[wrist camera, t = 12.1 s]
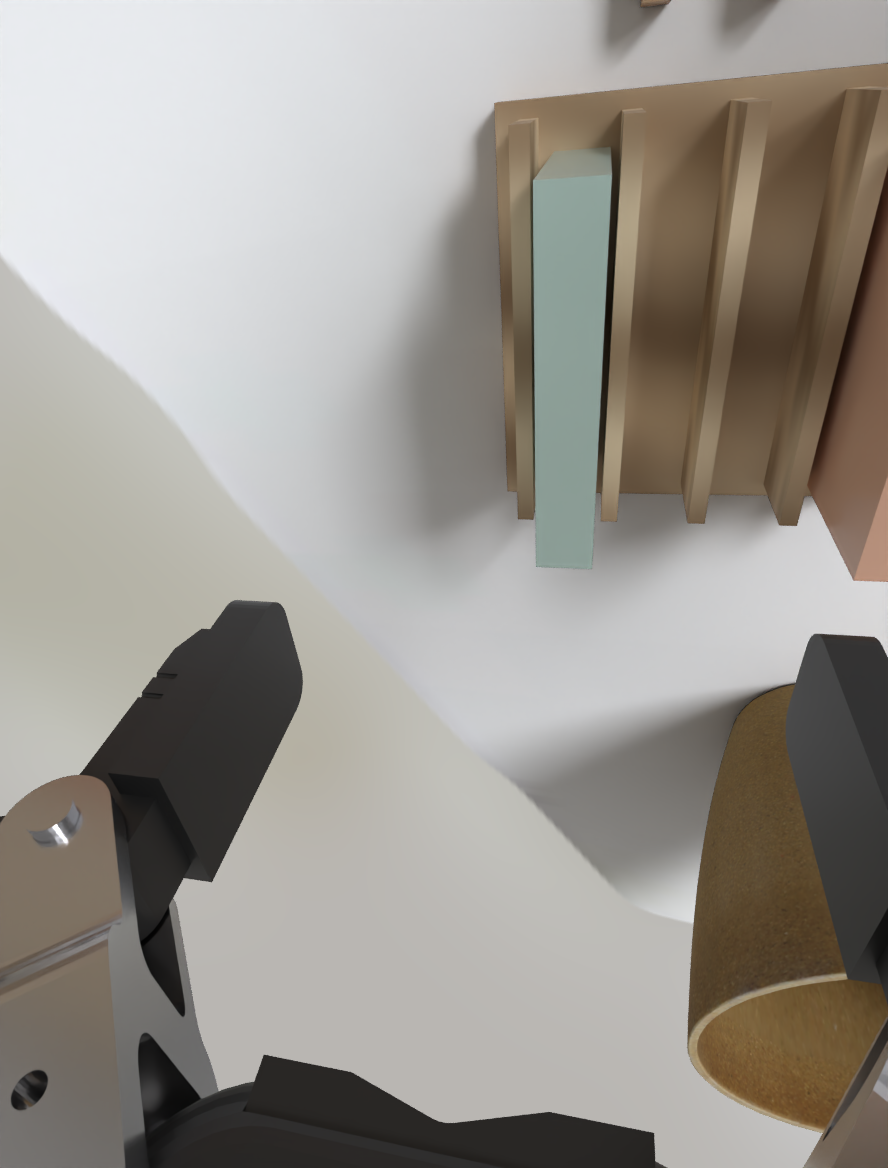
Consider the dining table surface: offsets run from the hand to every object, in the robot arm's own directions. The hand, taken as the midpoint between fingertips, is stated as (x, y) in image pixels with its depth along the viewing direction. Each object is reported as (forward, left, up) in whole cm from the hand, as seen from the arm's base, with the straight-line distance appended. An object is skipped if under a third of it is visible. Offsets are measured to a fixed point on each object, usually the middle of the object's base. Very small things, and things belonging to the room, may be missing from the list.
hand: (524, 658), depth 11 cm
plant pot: (+22, +13, -20) cm, 32 cm away
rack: (0, +5, -20) cm, 20 cm away
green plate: (0, 0, -19) cm, 19 cm away
